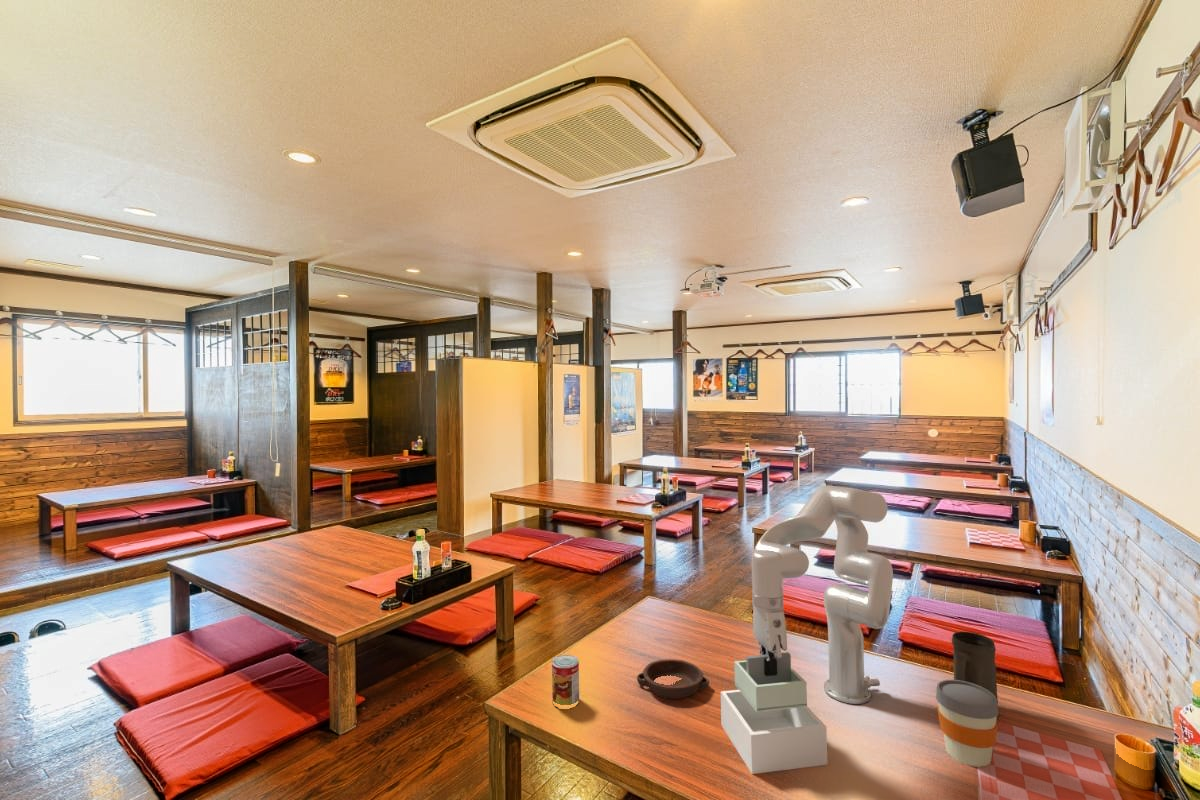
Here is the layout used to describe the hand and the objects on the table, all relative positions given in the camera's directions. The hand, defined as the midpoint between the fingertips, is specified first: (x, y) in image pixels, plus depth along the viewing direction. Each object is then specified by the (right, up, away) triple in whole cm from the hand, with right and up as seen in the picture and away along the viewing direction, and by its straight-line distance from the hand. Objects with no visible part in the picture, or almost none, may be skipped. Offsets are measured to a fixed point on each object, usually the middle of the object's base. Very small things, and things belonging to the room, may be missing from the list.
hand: (769, 672), depth 132 cm
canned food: (-53, -19, +20) cm, 60 cm away
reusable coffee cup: (+47, -17, -6) cm, 50 cm away
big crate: (0, -18, 0) cm, 18 cm away
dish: (-21, -19, +27) cm, 39 cm away
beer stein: (+60, -17, +12) cm, 64 cm away
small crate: (0, -6, 0) cm, 6 cm away
